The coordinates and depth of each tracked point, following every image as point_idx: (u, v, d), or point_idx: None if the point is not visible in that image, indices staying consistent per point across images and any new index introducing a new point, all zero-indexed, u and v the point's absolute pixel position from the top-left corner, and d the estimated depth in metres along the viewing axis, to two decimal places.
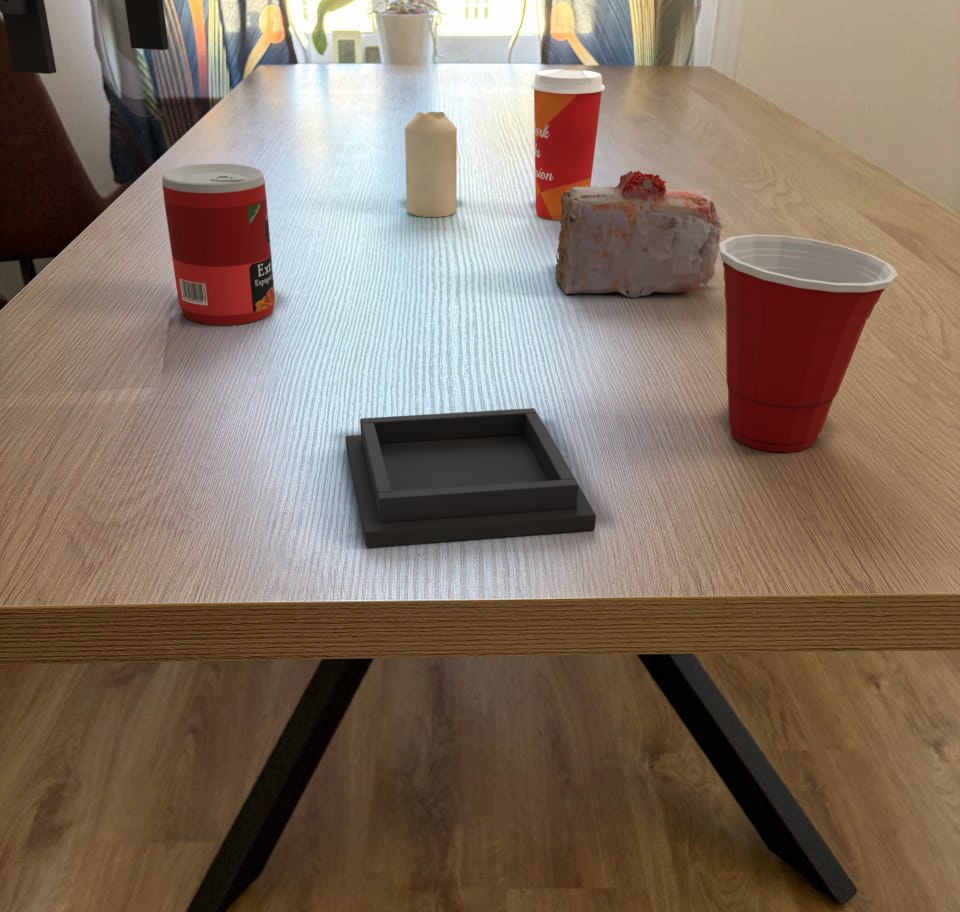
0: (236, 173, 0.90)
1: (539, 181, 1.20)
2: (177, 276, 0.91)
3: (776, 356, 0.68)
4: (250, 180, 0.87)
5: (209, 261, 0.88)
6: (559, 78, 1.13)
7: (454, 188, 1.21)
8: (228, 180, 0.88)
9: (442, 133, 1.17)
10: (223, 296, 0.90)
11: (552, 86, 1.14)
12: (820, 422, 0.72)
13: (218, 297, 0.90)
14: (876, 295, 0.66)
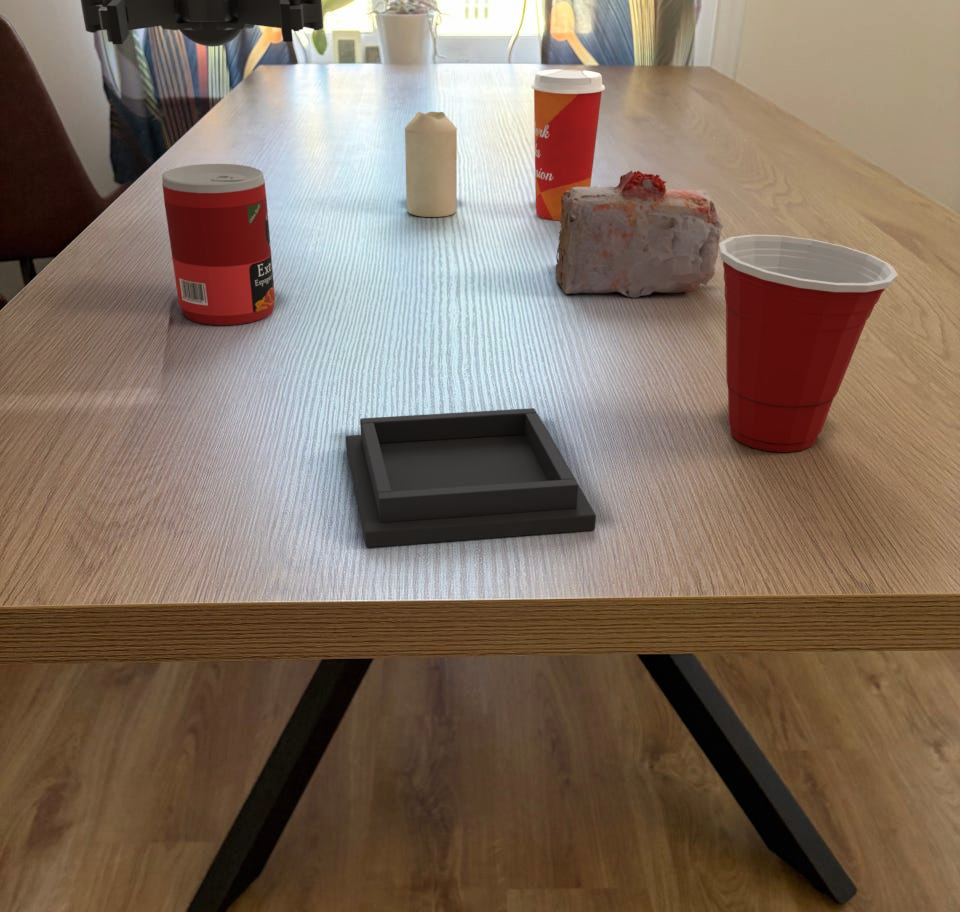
0: (236, 173, 0.90)
1: (539, 181, 1.20)
2: (177, 276, 0.91)
3: (776, 356, 0.68)
4: (250, 180, 0.87)
5: (209, 261, 0.88)
6: (559, 78, 1.13)
7: (454, 188, 1.21)
8: (228, 180, 0.88)
9: (442, 133, 1.17)
10: (223, 295, 0.90)
11: (552, 86, 1.14)
12: (820, 422, 0.72)
13: (218, 297, 0.90)
14: (876, 295, 0.66)
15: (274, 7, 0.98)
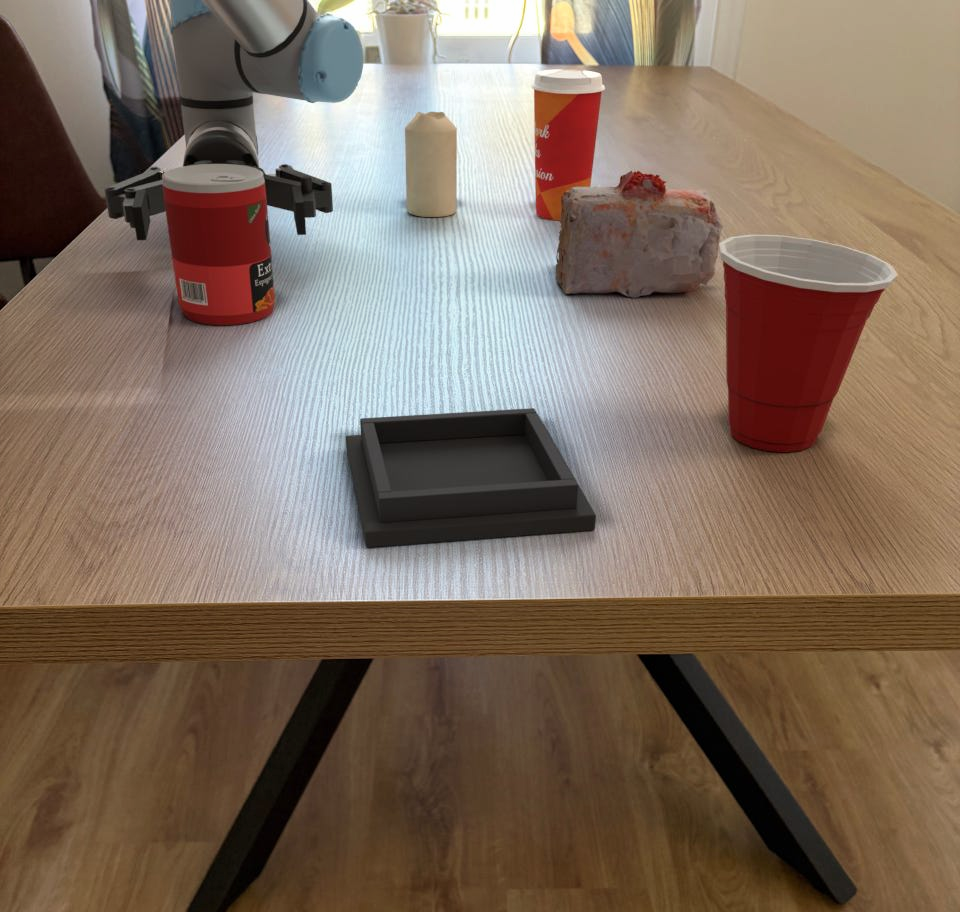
0: (236, 173, 0.90)
1: (539, 181, 1.20)
2: (177, 276, 0.91)
3: (776, 356, 0.68)
4: (250, 180, 0.87)
5: (209, 261, 0.88)
6: (559, 78, 1.13)
7: (454, 188, 1.21)
8: (228, 180, 0.88)
9: (442, 133, 1.17)
10: (223, 296, 0.90)
11: (552, 86, 1.14)
12: (820, 422, 0.72)
13: (218, 297, 0.90)
14: (876, 295, 0.66)
15: (287, 193, 1.04)
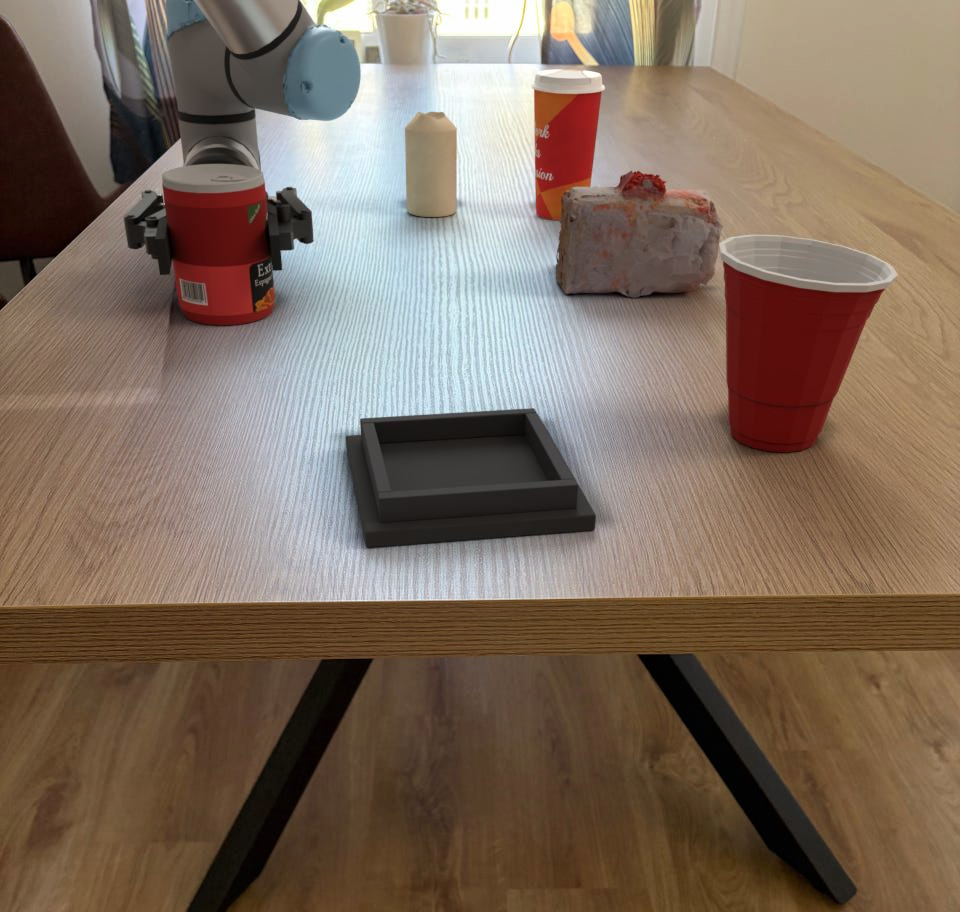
0: (236, 173, 0.90)
1: (539, 181, 1.20)
2: (177, 276, 0.91)
3: (776, 356, 0.68)
4: (250, 180, 0.87)
5: (209, 261, 0.88)
6: (559, 78, 1.13)
7: (454, 188, 1.21)
8: (228, 180, 0.88)
9: (442, 133, 1.17)
10: (223, 296, 0.90)
11: (552, 86, 1.14)
12: (820, 422, 0.72)
13: (218, 297, 0.90)
14: (876, 295, 0.66)
15: None
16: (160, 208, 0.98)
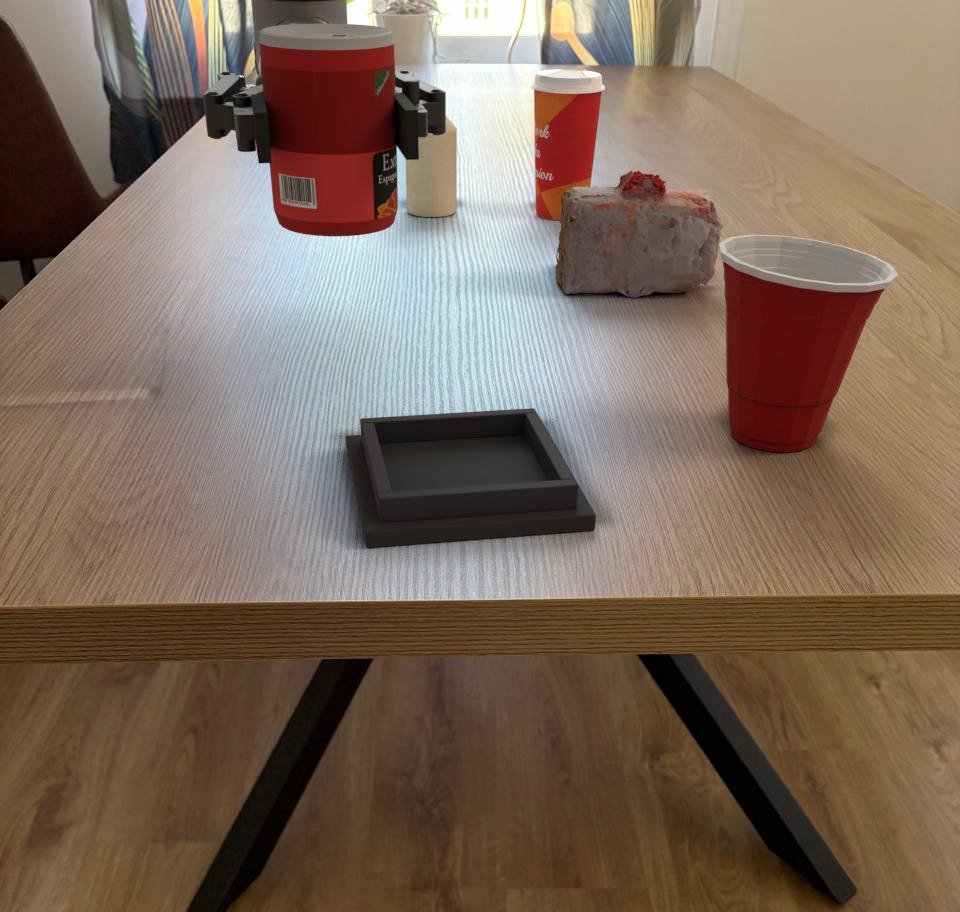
0: (354, 33, 0.68)
1: (539, 181, 1.20)
2: (275, 171, 0.69)
3: (776, 356, 0.68)
4: (379, 35, 0.65)
5: (322, 147, 0.66)
6: (559, 78, 1.13)
7: (454, 188, 1.21)
8: None
9: None
10: (338, 195, 0.68)
11: (552, 86, 1.14)
12: (820, 422, 0.72)
13: (330, 198, 0.68)
14: (876, 295, 0.66)
15: None
16: None
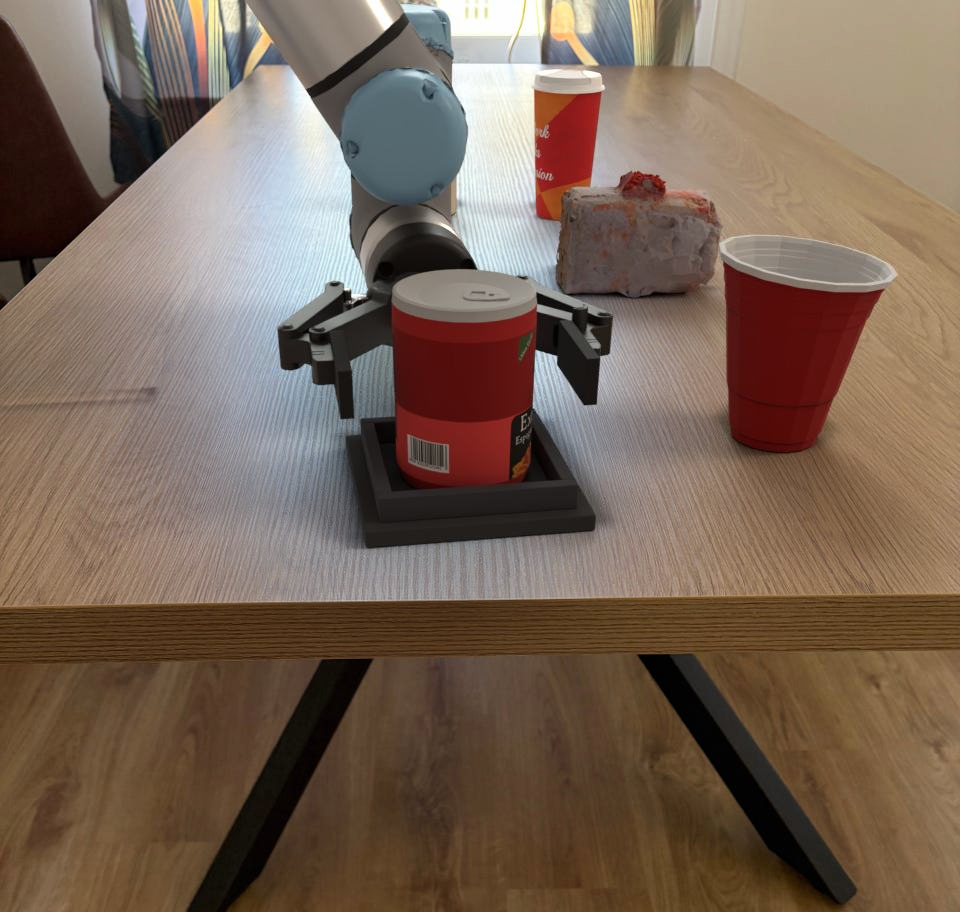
0: (490, 284, 0.63)
1: (539, 181, 1.20)
2: (403, 430, 0.63)
3: (776, 356, 0.68)
4: (526, 301, 0.59)
5: (458, 415, 0.61)
6: (559, 78, 1.13)
7: (454, 188, 1.21)
8: (489, 299, 0.60)
9: None
10: (473, 461, 0.63)
11: (552, 86, 1.14)
12: (820, 422, 0.72)
13: (465, 463, 0.63)
14: (876, 295, 0.66)
15: (545, 327, 0.68)
16: (345, 308, 0.72)
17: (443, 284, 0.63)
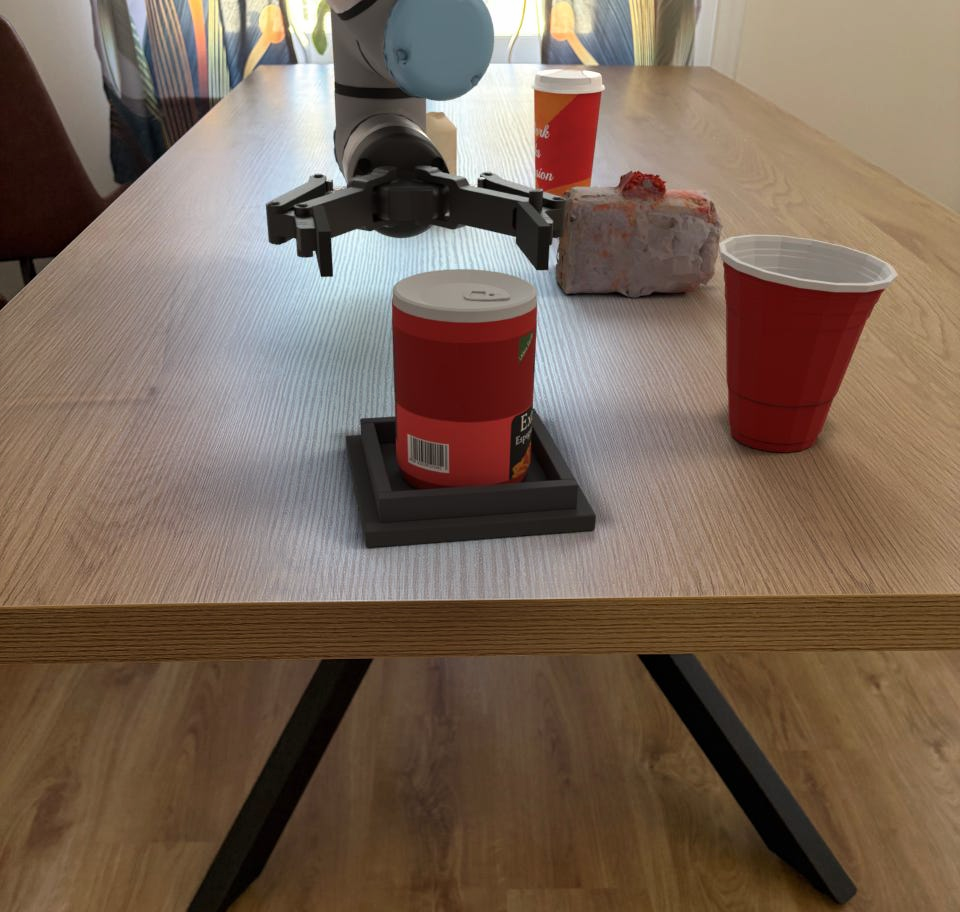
0: (491, 284, 0.63)
1: (539, 181, 1.20)
2: (403, 430, 0.63)
3: (776, 356, 0.68)
4: (526, 301, 0.59)
5: (459, 415, 0.61)
6: (559, 78, 1.13)
7: None
8: (489, 299, 0.60)
9: (442, 133, 1.17)
10: (473, 461, 0.63)
11: (552, 86, 1.14)
12: (820, 422, 0.72)
13: (465, 463, 0.63)
14: (876, 295, 0.66)
15: (505, 211, 0.77)
16: None
17: (443, 284, 0.63)
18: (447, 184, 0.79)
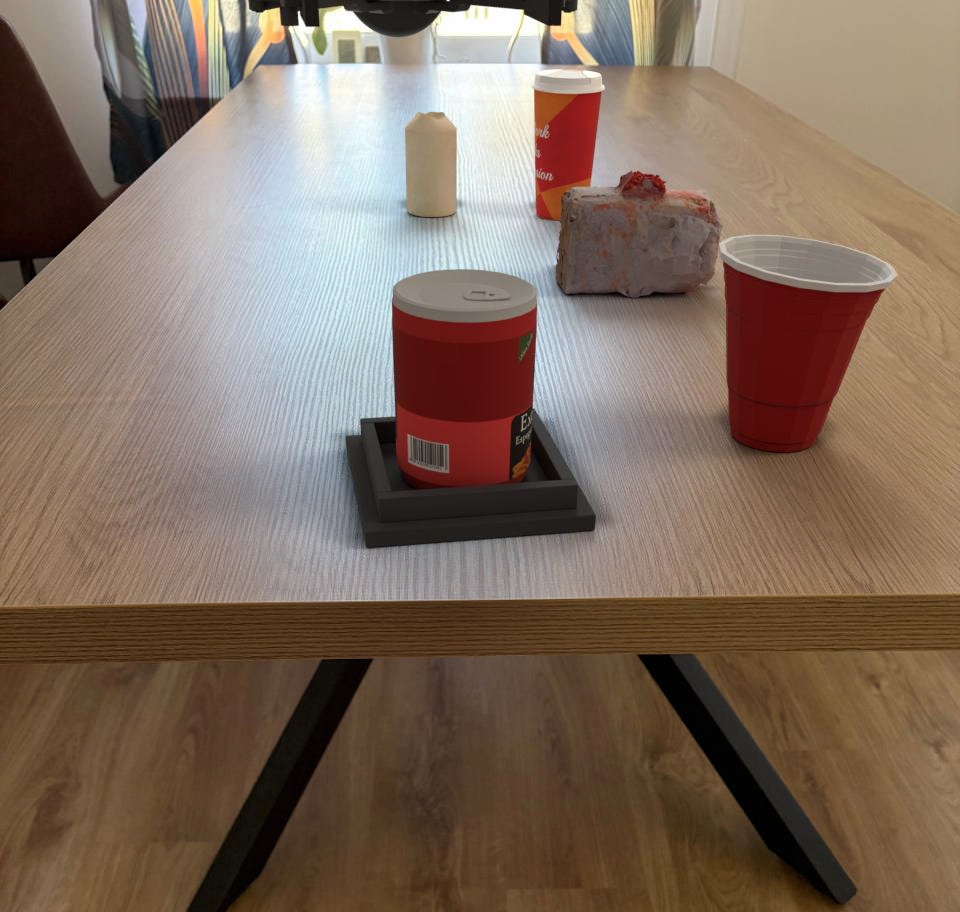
0: (491, 284, 0.63)
1: (539, 181, 1.20)
2: (404, 430, 0.63)
3: (776, 356, 0.68)
4: (526, 301, 0.59)
5: (459, 415, 0.61)
6: (559, 78, 1.13)
7: (454, 188, 1.21)
8: (489, 299, 0.60)
9: (442, 133, 1.17)
10: (473, 461, 0.63)
11: (552, 86, 1.14)
12: (820, 422, 0.72)
13: (465, 463, 0.63)
14: (876, 295, 0.66)
15: None
16: None
17: (443, 284, 0.63)
18: None
